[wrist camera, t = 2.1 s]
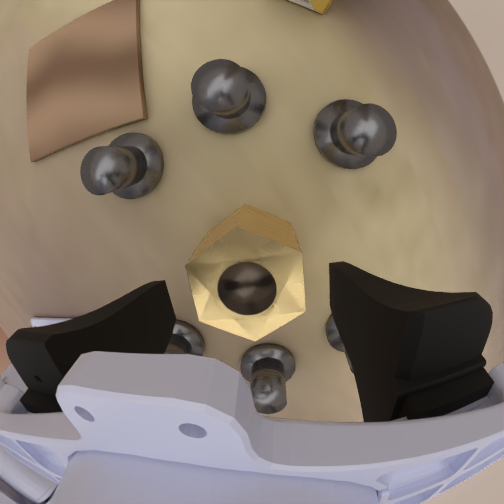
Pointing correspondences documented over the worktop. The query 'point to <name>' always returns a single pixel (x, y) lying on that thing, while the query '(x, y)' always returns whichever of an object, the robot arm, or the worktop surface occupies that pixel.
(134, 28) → the board
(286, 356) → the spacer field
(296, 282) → the brass nut
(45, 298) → the worktop surface
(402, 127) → the worktop surface
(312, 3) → the candy box
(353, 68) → the worktop surface
